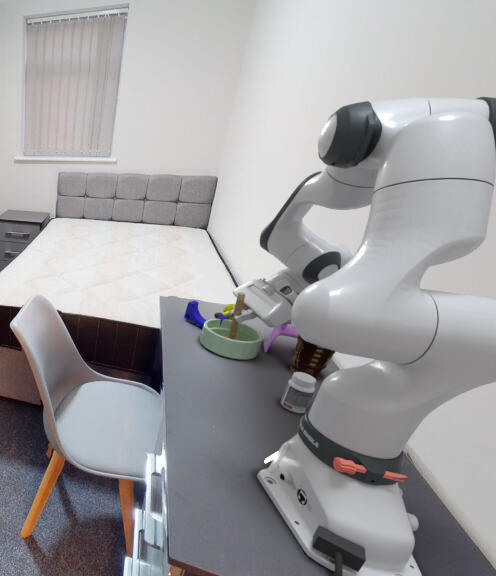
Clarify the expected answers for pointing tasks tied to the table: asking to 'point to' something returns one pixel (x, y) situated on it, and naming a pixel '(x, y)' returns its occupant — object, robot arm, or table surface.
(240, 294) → the stirring stick
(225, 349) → the bowl
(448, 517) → the table surface
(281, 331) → the toy chair
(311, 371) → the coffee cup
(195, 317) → the blue curved piece
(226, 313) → the toy figure
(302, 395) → the pill bottle
